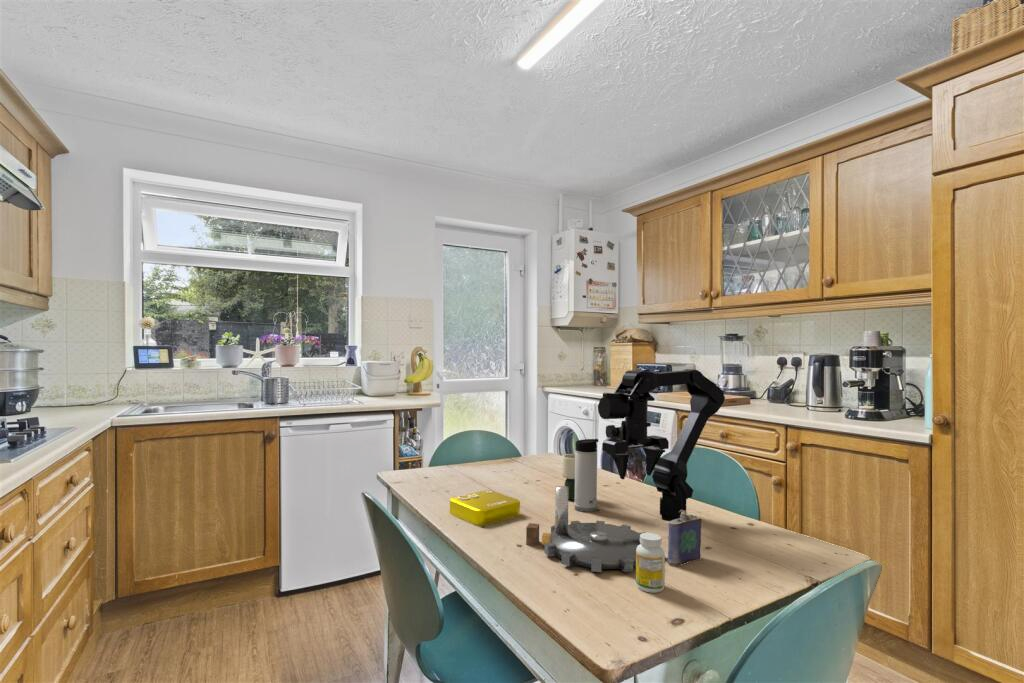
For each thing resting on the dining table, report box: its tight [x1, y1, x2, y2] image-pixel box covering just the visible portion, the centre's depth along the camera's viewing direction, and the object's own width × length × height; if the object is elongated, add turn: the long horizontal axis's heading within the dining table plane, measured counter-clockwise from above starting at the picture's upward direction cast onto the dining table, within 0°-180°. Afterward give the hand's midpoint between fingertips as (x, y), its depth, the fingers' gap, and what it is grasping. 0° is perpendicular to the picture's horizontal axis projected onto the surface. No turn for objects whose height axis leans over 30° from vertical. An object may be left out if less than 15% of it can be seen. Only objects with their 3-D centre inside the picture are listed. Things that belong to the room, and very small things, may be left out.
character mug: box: [561, 453, 575, 500], centre depth 155 cm, size 11×7×13 cm, turn 30°
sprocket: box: [541, 485, 647, 573], centre depth 114 cm, size 25×25×12 cm
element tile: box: [448, 489, 521, 527], centre depth 140 cm, size 15×15×5 cm
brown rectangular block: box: [525, 522, 540, 547], centre depth 119 cm, size 2×3×4 cm
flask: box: [667, 510, 702, 567], centre depth 110 cm, size 9×3×11 cm, turn 121°
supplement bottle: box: [635, 532, 666, 594], centre depth 97 cm, size 5×5×10 cm
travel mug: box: [574, 438, 600, 513], centre depth 145 cm, size 6×7×20 cm
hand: (635, 477), depth 134 cm, fingers open, 9 cm apart
